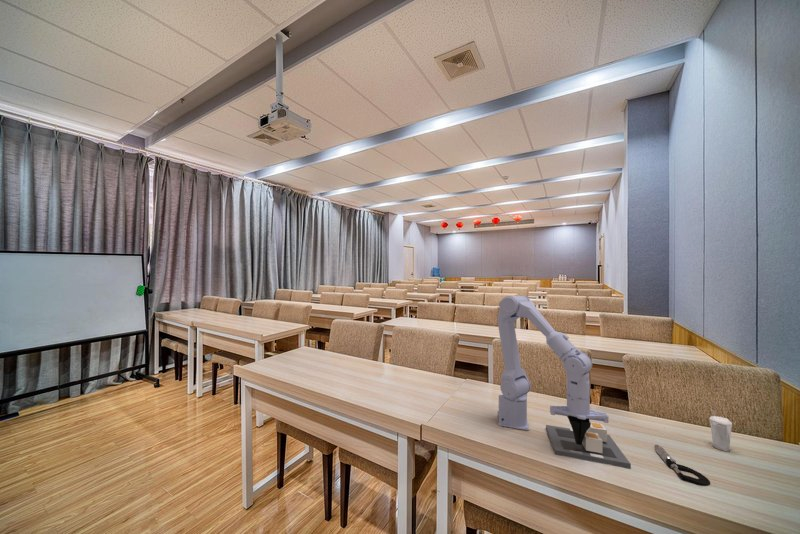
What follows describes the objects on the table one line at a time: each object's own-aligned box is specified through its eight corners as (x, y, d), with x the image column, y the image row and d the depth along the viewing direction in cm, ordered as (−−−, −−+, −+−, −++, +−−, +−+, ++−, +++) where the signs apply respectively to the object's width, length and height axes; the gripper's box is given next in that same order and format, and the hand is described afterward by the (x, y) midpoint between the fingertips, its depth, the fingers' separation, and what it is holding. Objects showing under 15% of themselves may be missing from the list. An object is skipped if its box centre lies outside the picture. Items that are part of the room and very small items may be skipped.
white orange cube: (586, 450, 81) (585, 437, 81) (581, 442, 85) (581, 430, 85) (602, 453, 80) (602, 439, 80) (597, 445, 84) (597, 432, 84)
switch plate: (555, 454, 82) (555, 449, 82) (545, 428, 96) (545, 424, 96) (630, 468, 76) (630, 463, 76) (609, 438, 90) (609, 434, 90)
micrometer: (717, 491, 69) (717, 480, 69) (679, 482, 72) (679, 472, 72) (683, 455, 83) (683, 446, 83) (652, 449, 86) (652, 441, 86)
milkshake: (723, 444, 88) (722, 411, 89) (737, 454, 83) (736, 419, 84) (704, 441, 90) (703, 408, 90) (716, 450, 85) (715, 416, 85)
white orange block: (591, 439, 87) (591, 427, 87) (587, 432, 90) (587, 421, 91) (606, 442, 85) (606, 429, 86) (602, 435, 89) (602, 423, 89)
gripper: (553, 397, 82) (553, 445, 82) (612, 404, 78) (613, 456, 77) (548, 388, 89) (548, 432, 89) (603, 395, 85) (603, 441, 84)
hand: (578, 442), depth 83 cm, fingers closed
